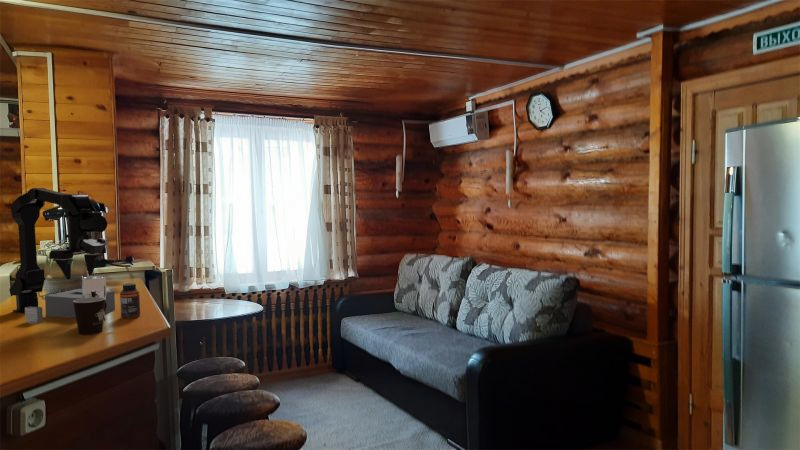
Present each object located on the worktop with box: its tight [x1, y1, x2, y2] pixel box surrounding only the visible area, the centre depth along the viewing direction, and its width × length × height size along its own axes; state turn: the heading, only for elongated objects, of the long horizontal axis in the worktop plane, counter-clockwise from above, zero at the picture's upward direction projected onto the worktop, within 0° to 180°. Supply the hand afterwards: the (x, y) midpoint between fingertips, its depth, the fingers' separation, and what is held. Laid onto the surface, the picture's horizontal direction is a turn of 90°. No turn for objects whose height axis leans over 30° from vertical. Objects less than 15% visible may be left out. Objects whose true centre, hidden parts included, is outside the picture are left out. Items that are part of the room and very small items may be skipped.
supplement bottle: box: [119, 282, 141, 320], centre depth 195 cm, size 6×6×11 cm
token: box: [24, 306, 44, 325], centre depth 188 cm, size 5×2×5 cm, turn 74°
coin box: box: [44, 288, 116, 319], centre depth 201 cm, size 16×14×7 cm
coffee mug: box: [73, 297, 107, 336], centre depth 176 cm, size 12×9×10 cm
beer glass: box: [81, 275, 107, 324], centre depth 186 cm, size 7×7×15 cm
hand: (79, 277), depth 195 cm, fingers open, 9 cm apart
